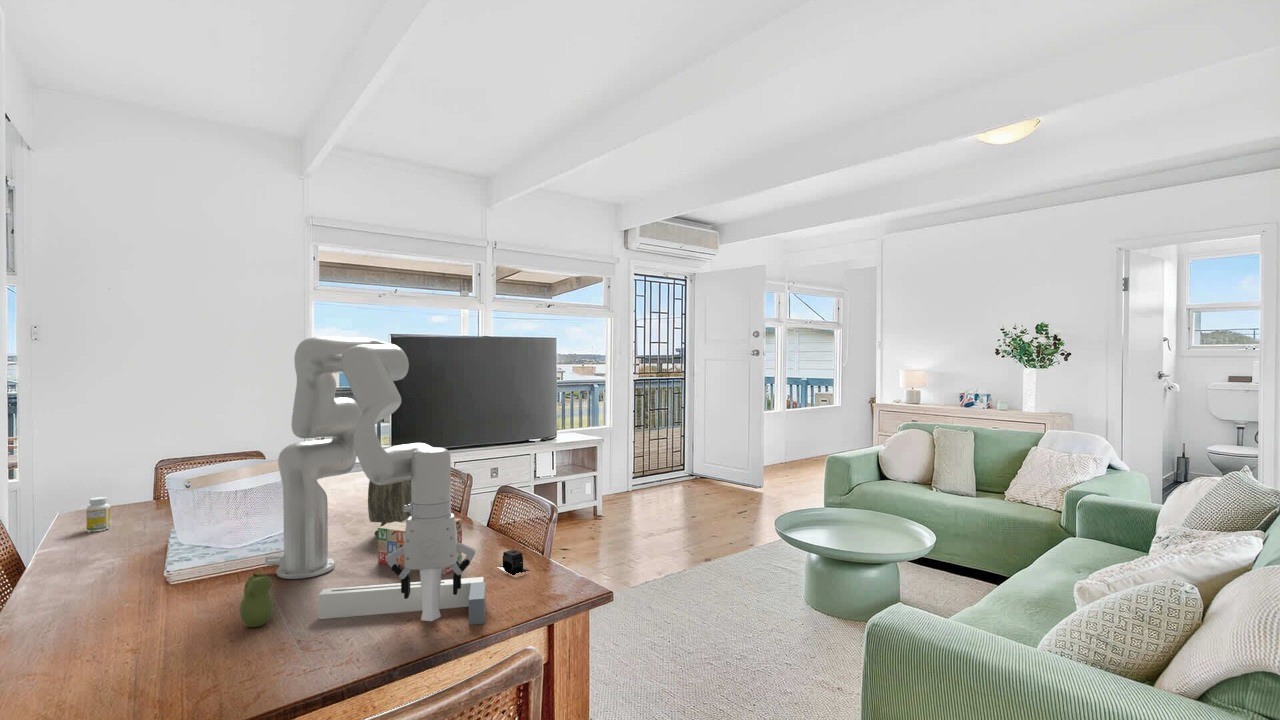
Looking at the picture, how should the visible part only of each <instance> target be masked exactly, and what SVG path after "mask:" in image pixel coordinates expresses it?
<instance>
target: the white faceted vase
mask: <svg viewBox="0 0 1280 720" xmlns="http://www.w3.org/2000/svg"><path fill="white" fill-rule="evenodd" d="M441 573H442V568H436V569H422V570H419V580H420V581H419V582H421V595H422V609H423V611H421V612H422V613H421V618H420V621H426V622H434V621H435V620H437V619H439V618H441V617H442V615H441V612H440V609H439V600H440V586H441V580H442V574H441Z"/></svg>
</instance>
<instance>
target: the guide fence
mask: <svg viewBox="0 0 1280 720" xmlns="http://www.w3.org/2000/svg"><path fill="white" fill-rule="evenodd" d="M484 580H485V579H484V576H479V577H466V578H465V577H464V578H463V577H462V578H461V589H458V591H457V595H454V594H453V578H452V579H441V586H440V600H439V610H445V609H457V608H458V609H459V608H466V607H467V608H468V625H469V626H472V625H482V624H483V625H485V618H486V606H487V605H486V603H487V602H486V600H487V599H486V596H487V595H486V593H487V590H486V588H487V587H486V584H487V583H486V581H484ZM420 611H421V612H423V609H422V595H421V582H420V581H415V582H414V581H410V595H409V597H408V598H407V599H404V593H401V582H399V583H387V584H386V583H385V584H373V585H372V584H371V585H360V586H345V587H343V586H342V587H331V588H323V589H322V590H321V591H320V592H319V594H318V619H319V620H326V619H338V618H339V619H340V618H349V617H362V616H375V615H386V614H387V615H388V614H399V613H408V612H409V613H410V612H420Z"/></svg>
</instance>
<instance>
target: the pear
mask: <svg viewBox="0 0 1280 720" xmlns="http://www.w3.org/2000/svg"><path fill="white" fill-rule="evenodd" d="M272 586H273V581H272V579H271V578H270V576H269V575H266V574H265V573H262V572H261V573H252V575H251V576H250V577H247V581H246V582H245V585H244V587H243V597H242V598H241V601H240V605H239V616H240V620H241V621H242V623H243V624H244V625H245V626H247V627H249V628H258V627H261V626H264V625H265V624H267V623H268V622H269V621H271V619H272V617H273V615H274V611H275V610H274V607H275V606H274V602H273V598H272V595H271V592H270V589H271V588H272Z"/></svg>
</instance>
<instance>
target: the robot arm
mask: <svg viewBox="0 0 1280 720" xmlns="http://www.w3.org/2000/svg"><path fill="white" fill-rule="evenodd" d="M409 365H410V363H409V358H408V356H407V353H405V351H404V350H403V348H402V347H399V346H398V345H397V344H394V343H389V342H385V341H381V340H379V339H375V338H371V337H370V338H369V337H345V336H344V337H343V336H317V337H316V336H315V337H309V338H306V339H304V340H301V342H299V344H298V345H297V347H296V349H295V352H294V369H295V370H294V371H295V375H296V386H295V393H294V400H293V406H292V407H293V408H292V415H291V424H290V425H291V431H292V433H293V434H294V436H295V437H297V438H300V439H305V440H306V441H299V442H293V443H291V444H289V445H287V446H286V447H284V448H283V449H282V450H281V451H280V452H279V455H278V459H277V460H278V463H277V464H278V469H279V470H278V471H279V475H280V480H281V485H282V496H283V497H282V501H283V505H282V506H283V553H280V554H278V555H276V554H272V555H266V556H265V558H264V562H265V564H266V565H267V566H278V567H277V569H276V576H277V577H279V578H281V579H286V580H299V579H308V578H313V577H317V576H320V575H323V574H326V573H328V572H331V571H332V570H333V569H334V568H335V565H336V562H335V559H333V558H330V557H329V543H328V542H329V533H328V532H329V529H328V527H329V526H328V523H329V522H328V521H329V520H328V518H329V517H328V516H329V515H328V510H329V509H328V496H327V495H328V494H327V493H326V491H325V489H324V488H323V487H322V486H321V485H320V484H319V482H318V480H320V479H325V478H331V477H335V476H341V475H344V474H348V473H350V472H351V471H352V470H353V469H354V466H355V465H356V462H357V459H358V462H359V464H360V466H361V469H362V471H363V472H364V475H365V476H366V478H367V479H368V481H371V482H373V483H374V484H377V485H388V484H393V483H397V482H402V481H408V480H411V496H412V499H411V501H412V502H411V503H410V504H408V505H404V512H410V514H411V516H410V517H409V518H408V519H406V520H407V523H406V522H405V523H406V529H405V539H404V546H403V547H401V548H399V549H398V550H396V551H394V552H392V553H391V554H389V555H388V556H387V557H386V561H387V562H388V564H389V565H388V564H387V565H388V566H389V567H390V569H391V571H392V572H393V573H395V574H396V575H397V576H398V578H399V579H400V583H401V593H404V599H407V598H408V597H409V595H410V582H411V574H410V572H411V571H418V570H419V571H420V570H422V569H436V568H447V567H451V569H452V570H453V571H452V572H453V575H452V579H453V594H454V595H457V591H458V589H461V579H462V573H463V572H465V569H467V568H468V567H469V565H470V564H471V562H472V560H473V558H474V557H475V554H476V549H474V548H472V547H470V546H468V545H466V544H463V543H460V542H458V541H457V529H456V522H455V518H456V517H455V513H453V512H452V508H451V507H452V504H451V503H452V500H451V498H452V494H451V493H452V490H451V489H452V487H451V485H452V484H451V481H452V479H451V478H452V477H451V475H452V473H451V470H452V468H451V467H452V466H451V464H452V463H451V460H452V459H451V453H450V451H449V450H448V449H447V448H444V447H440V446H439V447H438V446H437V447H436V446H435V447H434V446H431V445H430V444H428V443H425V442H413V443H411V442H410V443H406V444H405V443H403V444H398V445H389V446H384V447H383V446H382V444H381V442H380V440H379V438H378V436H377V432H376V424H377V423H379V422H381V421H382V420H384V419H386V418H387V417H389V416H391V415H392V414H394V413H395V412H396V411H397V410H398V409H399V407H400V406H401V404H402V397H401V395H400V392H399V391H398V388H397V386H396V384H395V383H394V382H397V381H400V380H403V379H404V378H405V377H406V376H407V375H408V372H409ZM334 374H344V377H345V378H346V381H347V383H348V386H349V387H350V390H351V392H352V394H353V397H354V399H353V398H350V397H336V393H337V392H336V391H337V381H336V379H335V377H334ZM329 437H330V438H329ZM331 437H332V438H331ZM322 438H325V439H322ZM313 439H314V440H313ZM458 551H460V552H461V554H462V553H463V554H464V555H466V556H465V558H464V559H462V562H461V563H459V561H458V560H457V554H458ZM403 554H404V567H402V566H401V565H400V564H398V563H397V561H396V558H398V557H400V556H401V555H403Z"/></svg>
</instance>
